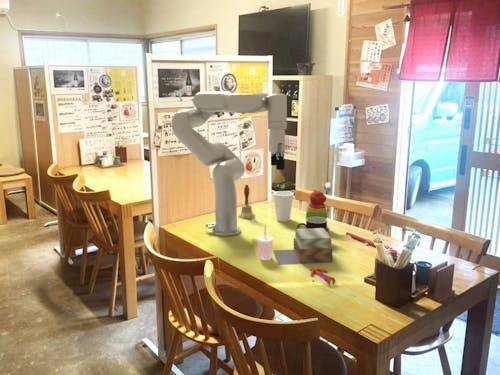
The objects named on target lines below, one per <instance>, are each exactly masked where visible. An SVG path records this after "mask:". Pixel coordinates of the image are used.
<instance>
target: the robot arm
mask: <svg viewBox="0 0 500 375" xmlns="http://www.w3.org/2000/svg"><path fill="white" fill-rule="evenodd" d="M287 100H288V99H287V95H286V94H285V93H265V92H258V93H257V92H256V93H232V92H231V91H221V90H220V91H219V90H218V91H216V90H215V91H214V90H203V91H199V92H197V93H196V94H194V96H193V98H192V104H193V106H194V107H193V108H185V109H181V110H179V111H177V112H175V113H174V115H173V116H172V118H171V128H172V129H171V130H172V132H173V134H174V136H175V138H176V139H177V140H178V141H179V142H180V143H181V144H183V146H185V147H186V149H188V150H189V152H190V153H192V154H193V156H194V157H195V158H196V159H197V160H198V161H199V162H200V163H201V164H202V165H204V166H206V167H210V166H211V167H212V166H214V165H215V166H214V168H213V170H212V182H213V185H214V211H215V213H214V214H215V220H214V221H213V222H211V223H210V222H205V228H208V229H212V233H213V234H214V235H216V236H218V237H219V236H221V237H231V236H236V235H238V234H240V233H241V232H242V231H241V227H240V226H238V195H237V194H238V193H237V192H238V191H237V188H236V183H235V181H236V180H237V181H238V179H241V178H242V177H243V176H244V174H245V171H246V170H245V169H246V168H245V164H244V162H243V161H242V160H241V159H240V158H239V157H238V155H236V154H235V153H234V152H233V151H232V150H231V149H230V148H229V147H228V145H226V144H224V143H222V142H217V141H216V142H215V141H214V142H210V141H208V140H207V139H206V138H205V137H204V136H203V135H202V134H201V133H199V132H198V131H196V130H195V129H194V128H199V127H201V126H203V125H204V124H205V123H207V122H208V120H209V119H210V118H211V117H213V115H214V114H215V113H229V114H230V113H233V114H234V113H236V114H257V113H264V112H267V130H269V132H268V152H270V165H271V166H276V167H275V169H276V170H278V171H279V170H281V171H282V170H285V153H286V133H285V130H286V129H287V128H288V127H287V126H288V124H287V123H288V122H287V116H288V114H287V111H288V110H287V108H288V105H287V103H288V101H287Z"/></svg>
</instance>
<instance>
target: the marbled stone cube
mask: <svg viewBox="0 0 500 375" xmlns="http://www.w3.org/2000/svg"><path fill="white" fill-rule="evenodd" d="M294 233H295V237H294V238H293V249H294V252H295V254H296V256H297V258H298V260H299V262H300V263H304V262H329V261H332V262H333V247H332V237H331V236H330V234H329V232H326V230H325V229H324V228H308V229H306V228H299V229H297V228H296V229H295V232H294Z"/></svg>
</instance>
